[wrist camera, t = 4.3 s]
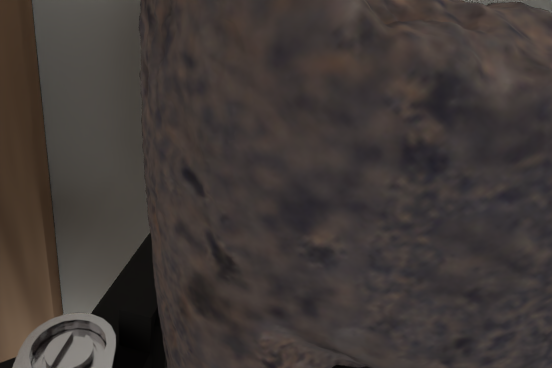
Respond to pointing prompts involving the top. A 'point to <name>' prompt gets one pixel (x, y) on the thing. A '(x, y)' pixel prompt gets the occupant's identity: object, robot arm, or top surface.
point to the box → (23, 188)
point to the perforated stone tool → (349, 182)
